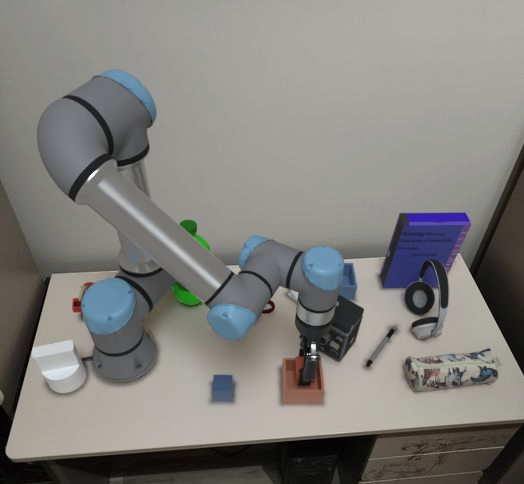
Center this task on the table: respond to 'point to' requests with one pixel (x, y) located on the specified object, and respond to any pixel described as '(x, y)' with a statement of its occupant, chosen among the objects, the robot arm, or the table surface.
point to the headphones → (428, 301)
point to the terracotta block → (298, 366)
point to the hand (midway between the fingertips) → (303, 374)
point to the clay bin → (301, 392)
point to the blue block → (222, 387)
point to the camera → (342, 329)
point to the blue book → (422, 246)
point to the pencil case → (451, 370)
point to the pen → (381, 346)
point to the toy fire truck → (80, 298)
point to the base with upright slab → (60, 365)
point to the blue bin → (348, 282)
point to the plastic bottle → (178, 289)
